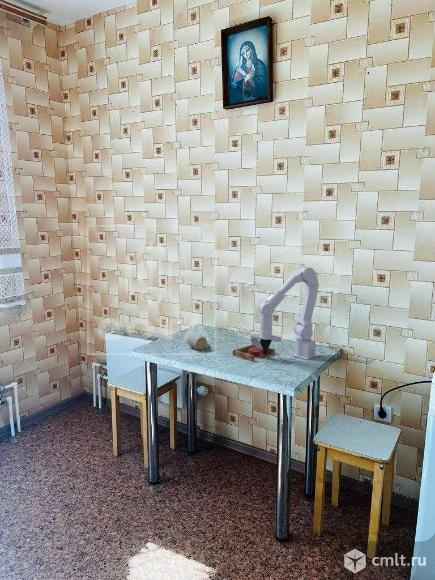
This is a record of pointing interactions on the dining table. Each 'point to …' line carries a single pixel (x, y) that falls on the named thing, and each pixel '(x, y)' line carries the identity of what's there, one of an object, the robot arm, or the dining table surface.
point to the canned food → (256, 349)
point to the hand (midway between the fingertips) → (265, 354)
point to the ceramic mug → (197, 341)
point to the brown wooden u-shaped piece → (242, 354)
